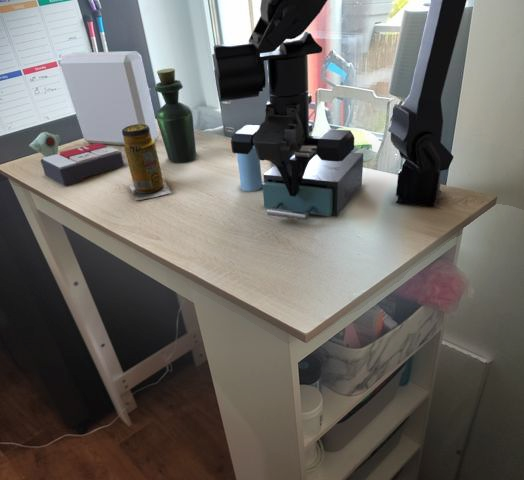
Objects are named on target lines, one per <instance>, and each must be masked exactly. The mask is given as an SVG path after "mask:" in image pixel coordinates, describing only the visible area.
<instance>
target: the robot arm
mask: <svg viewBox="0 0 524 480" xmlns="http://www.w3.org/2000/svg"><path fill="white" fill-rule="evenodd" d="M467 1H468V0H430V2H429V7H428V10H427V16H426V20H425V23H424V24H425V25H424V29H423V34H422V38H421V42H420V46H419V52H418V55H417V61H416V64H415V69H414V74H413V78H412V83H411V87H410V91H409V93H408V96H407V97H406V98H405V100H404V102H403V103H402V105H401V104H397V103H395V104H394V105H393V107H392V115H391V121H390V123H389V126H388V128H387V131H388V132H389V133H390V142H391V143H392V145H393V146H394V148H395V149H397V150H398V152H399V157H400V158H402V159H403V160H404V161H403V163H402V165H401V169H400V170H399V172H398V173H397V180H396V181H397V182H396V191H395V195H396V200H395V203H396V204H399V205H409V206H417V207H425V208H426V207H427V208H434V207H435V206H436V204H437V202H438V200H439V198H440V196H441V194H442V189H441V183H442V177H443V171H447V170H449V168H450V165H451V164H452V161H453V160H454V155H453V154H452V153H451V152H450V151H449V150H448V149H447V148H446V146H445V145H444V144H443V143H442V137H443V130H444V129H443V128H444V112H443V104H442V96H443V94H444V90H445V85H446V81H447V78H448V74H449V70H450V66H451V62H452V59H453V55H454V50H455V47H456V43H457V39H458V37H459V31H460V27H461V24H462V20H463V17H464V13H465V9H466V5H467ZM326 3H328V0H260V8H259V11H260V16H259V19H258V21H257V23H256V24H255V27H254V29H253V31H252V33H251V35H250V37H249V39H248V42H241V43H234V44H215V45H213V54H214V55H213V56H214V59H213V60H214V70H213V73H214V81H215V86H216V91H217V97H218V101H219V102H220V103H222V102H229V101H237V100H243V99H250V98H256V97H259V96H260V92H263V91H264V88H266V79H267V83H268V96H269V99H270V102H269V103H266V104H265V117H264V121H263V122H262V123H261V124H260V125H256V124H255V125H253V124H246V125H244V126H243V127H242V128H240V129H238V130H237V131H236V132H234V133H233V134H232V135H231V139H230V146H231V152H232V154H237V153H238V154H249V153H250V151H251V150H252V149H253V146H255V150H256V153H257V156H258V159H259V160H260V161H266V162H270V163H272V164H273V166H274V165H275V166H276V167H277V168H278V170H279V172H280V174H281V176H282V178H283V181H284V183H285V185H286V188H287V190H288V192H289V195H290V196H294V197H295V196H296V195H297V193H298V190H299V187H300V184H301V181H302V178H303V176H304V173H305V170H306V167H307V165H308V163H309V161H310V160H311V159H312V158H313V157H314V156H315V155H318V157H319V158H320V159H321V160H325V161H343V160H344V159H345V158H346V157H347V156H348V155H349V154H350V152H353V150H354V149H355V135H354V134H353V132H352V130H350V129H328V130H327V131H325V132H324V133H323V134H322V135H321V136H317V135H310V134H311V133H312V132H313V124H312V123H310V108H309V107H310V104H312V101H313V98H312V94H309V61H308V60H309V59H308V55H315V54H320V53H322V52H323V47H322V46H321V45H320V44H318V42H317V41H316V40H315V39H314V37H313V35H312V33H311V32H308V31H306V30H307V29H308V27H310V26H311V24H312V23H313V21H315V19H316V18H317V17H318V15H319V14H320V13H321V12H322V10H323V8H324V7H325V5H326ZM301 35H302V36H301ZM300 36H301V37H300ZM298 37H300V38H299V39H296V38H298ZM295 39H296V40H295ZM286 40H287V41H286ZM265 61H266V67H265ZM266 69H267V78H266ZM269 99H268V100H269Z"/></svg>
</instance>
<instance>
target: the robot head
mask: <svg viewBox="0 0 524 480" xmlns="http://www.w3.org/2000/svg"><path fill="white" fill-rule="evenodd" d="M60 141H61V138H60V135H58V134H53V133H49V132H47V131H42V132H41V133H39V134H38V135H37V136H36V138H34V139H33V141H31V143H30V144H29V145H28V146H29V147H30V148H32V149H33V150H34V151H36V152H38V153H40V154H41V155H42V156H43V158H44V157H48V156H51V155H55V154H58V153H59V144H60Z"/></svg>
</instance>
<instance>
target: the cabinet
mask: <svg viewBox="0 0 524 480" xmlns="http://www.w3.org/2000/svg"><path fill="white" fill-rule="evenodd" d="M363 169H364V152H353V151H351V152H350V154H349V155H348V156H347V157H346V158H345V159H344V160H343V161H325V160H321V159H320V158H319V157H318V155H315V156H314V157H313V158H312V159H311V160H310V161H309V163H308V165H307V167H306V170H305V173H304V176H303V178H302V181H301V183H307V184H316V185H326V186H333V206H332V214H331V216H330V217H334V218H337V217H338V216H339V215H340V214H341V213H342V211H343V210H344V209H345V208H346V206H347V205H348V204H349V203H350V201H351V200H352V199H353V198H354V196H355V195H356V194H357V193H358V191H359V190H361V187H362V186H363V173H364V172H363V171H364V170H363ZM272 180H279V181H283V178H282V176H281V174H280V172H279V170H278V168H277V167H276V166H275V165H274V164H273V165H272V167H270V168H269V169H268V170H267V171H266V172H265V173H263V183H264V182H272Z"/></svg>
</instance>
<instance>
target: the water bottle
mask: <svg viewBox="0 0 524 480" xmlns="http://www.w3.org/2000/svg"><path fill="white" fill-rule="evenodd" d="M236 155H237V165H238V173H239V181H240V188H241V189H240V190H242V191H244V192H256V191H259V190H260V189H263V186H262V184H263V180H262V168H261V160H259V159H258V156H257V153H256V150H255V146H253V149H252V150H251V151H250V153H249V154H238V153H236Z"/></svg>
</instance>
